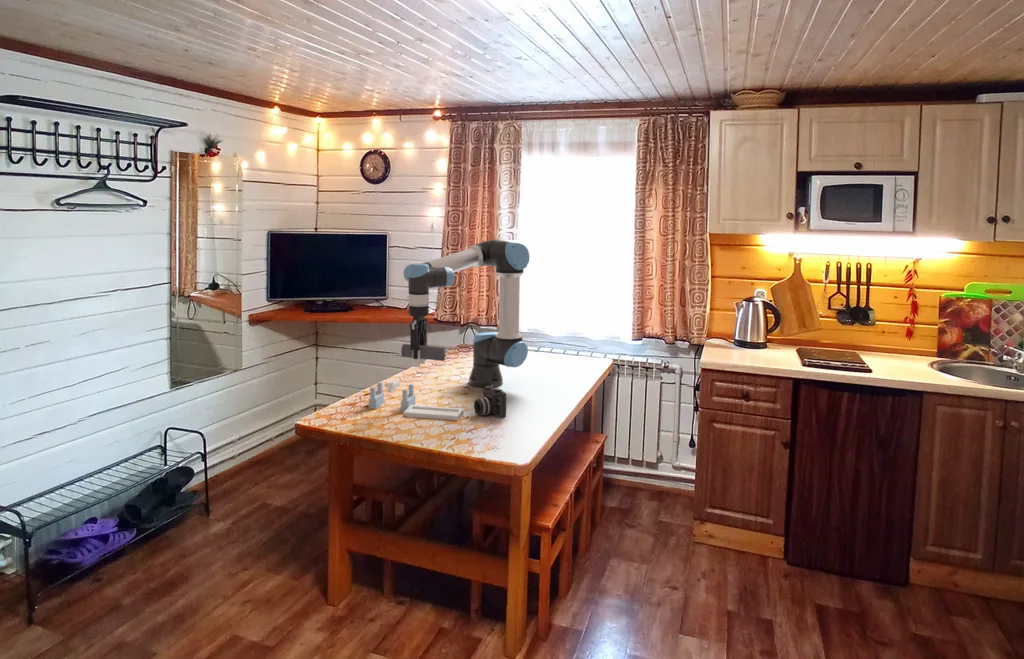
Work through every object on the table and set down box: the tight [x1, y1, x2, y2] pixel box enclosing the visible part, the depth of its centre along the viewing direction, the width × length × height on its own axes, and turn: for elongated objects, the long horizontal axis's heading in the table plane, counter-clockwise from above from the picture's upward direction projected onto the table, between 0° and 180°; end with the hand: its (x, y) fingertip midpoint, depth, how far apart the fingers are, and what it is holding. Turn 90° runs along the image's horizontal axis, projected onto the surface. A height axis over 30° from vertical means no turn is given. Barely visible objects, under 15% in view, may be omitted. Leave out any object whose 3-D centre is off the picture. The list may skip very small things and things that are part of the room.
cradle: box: [368, 381, 416, 412], centre depth 274 cm, size 16×10×8 cm, turn 81°
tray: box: [402, 404, 464, 421], centre depth 266 cm, size 21×10×2 cm, turn 81°
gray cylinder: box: [400, 343, 447, 362], centre depth 264 cm, size 16×5×5 cm, turn 80°
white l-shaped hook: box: [385, 380, 401, 393], centre depth 265 cm, size 2×10×4 cm, turn 171°
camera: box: [473, 386, 507, 419], centre depth 268 cm, size 14×11×10 cm
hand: (418, 365), depth 266 cm, fingers closed on gray cylinder, 5 cm apart
